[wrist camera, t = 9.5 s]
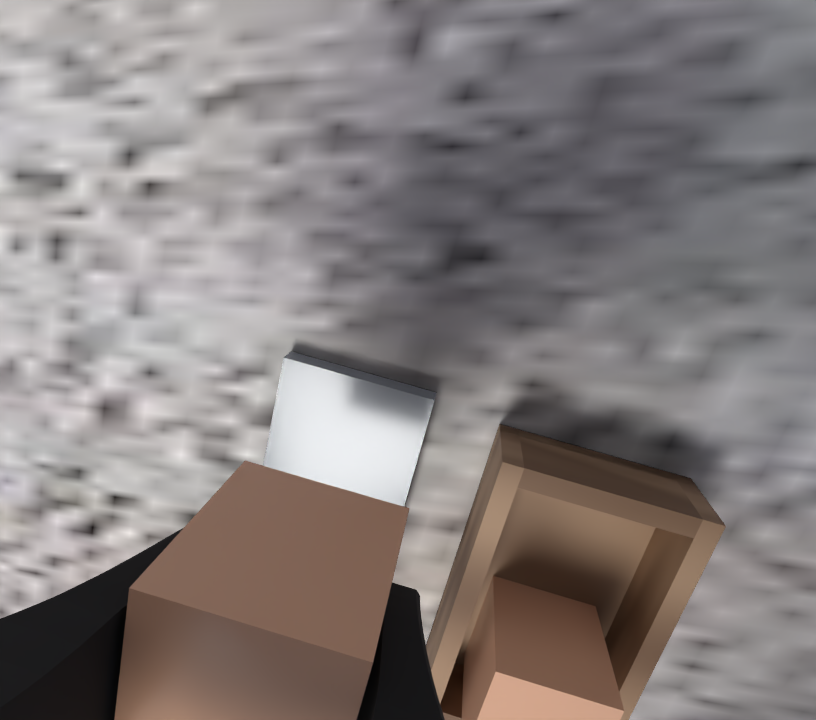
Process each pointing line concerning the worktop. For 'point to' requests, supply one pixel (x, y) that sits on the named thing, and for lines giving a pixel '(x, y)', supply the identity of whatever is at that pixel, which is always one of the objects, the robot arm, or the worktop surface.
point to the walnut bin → (577, 552)
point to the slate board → (347, 428)
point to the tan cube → (262, 605)
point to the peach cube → (537, 659)
